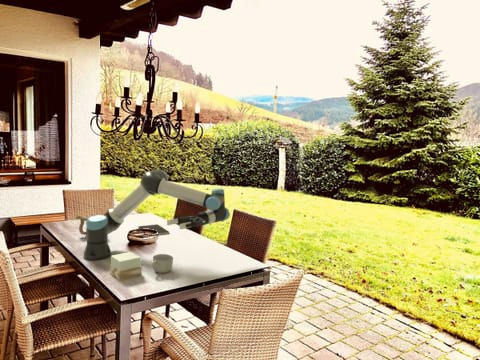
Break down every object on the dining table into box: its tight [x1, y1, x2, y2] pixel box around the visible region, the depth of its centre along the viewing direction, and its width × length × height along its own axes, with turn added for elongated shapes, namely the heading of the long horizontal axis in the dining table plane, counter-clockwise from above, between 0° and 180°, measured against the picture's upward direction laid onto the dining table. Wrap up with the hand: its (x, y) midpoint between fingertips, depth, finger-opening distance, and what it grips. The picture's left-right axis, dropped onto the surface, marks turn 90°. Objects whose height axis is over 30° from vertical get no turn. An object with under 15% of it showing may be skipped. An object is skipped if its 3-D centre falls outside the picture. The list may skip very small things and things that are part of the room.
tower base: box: [109, 264, 143, 281], centre depth 202 cm, size 12×12×5 cm
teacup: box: [150, 253, 174, 274], centre depth 207 cm, size 14×11×8 cm
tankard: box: [75, 215, 89, 239], centre depth 265 cm, size 20×13×15 cm, turn 84°
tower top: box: [110, 251, 141, 271], centre depth 202 cm, size 11×11×5 cm
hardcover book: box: [137, 223, 170, 236], centre depth 288 cm, size 16×23×2 cm
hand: (173, 224), depth 211 cm, fingers open, 13 cm apart
